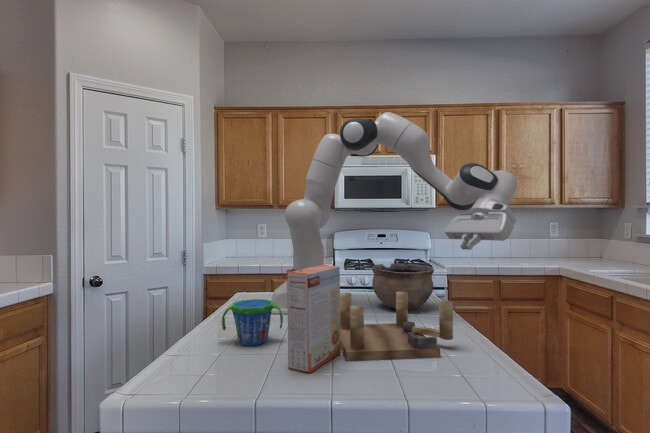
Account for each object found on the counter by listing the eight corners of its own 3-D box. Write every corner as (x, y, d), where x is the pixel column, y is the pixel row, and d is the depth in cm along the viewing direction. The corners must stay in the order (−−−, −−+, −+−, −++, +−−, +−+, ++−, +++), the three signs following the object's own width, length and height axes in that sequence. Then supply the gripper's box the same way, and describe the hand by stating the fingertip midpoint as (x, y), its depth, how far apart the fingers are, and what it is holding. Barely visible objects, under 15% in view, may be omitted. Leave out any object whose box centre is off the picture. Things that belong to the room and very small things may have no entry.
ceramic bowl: (419, 300, 149) (418, 262, 150) (445, 313, 128) (445, 269, 128) (364, 302, 146) (364, 263, 146) (383, 316, 124) (382, 271, 124)
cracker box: (320, 349, 93) (320, 264, 93) (341, 353, 90) (341, 265, 90) (285, 368, 81) (285, 270, 81) (309, 374, 78) (309, 272, 78)
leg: (401, 330, 100) (401, 297, 100) (406, 328, 102) (406, 295, 102) (450, 340, 91) (450, 303, 92) (454, 337, 94) (454, 301, 94)
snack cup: (216, 348, 93) (217, 307, 93) (228, 335, 104) (228, 298, 104) (280, 349, 93) (280, 307, 93) (285, 336, 103) (285, 298, 104)
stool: (346, 361, 85) (346, 310, 85) (333, 332, 107) (333, 292, 107) (440, 357, 87) (440, 307, 87) (408, 329, 109) (408, 290, 109)
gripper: (452, 208, 122) (432, 239, 117) (512, 205, 105) (491, 241, 99) (462, 221, 124) (442, 253, 119) (522, 220, 107) (502, 257, 102)
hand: (465, 248), depth 109 cm, fingers closed
